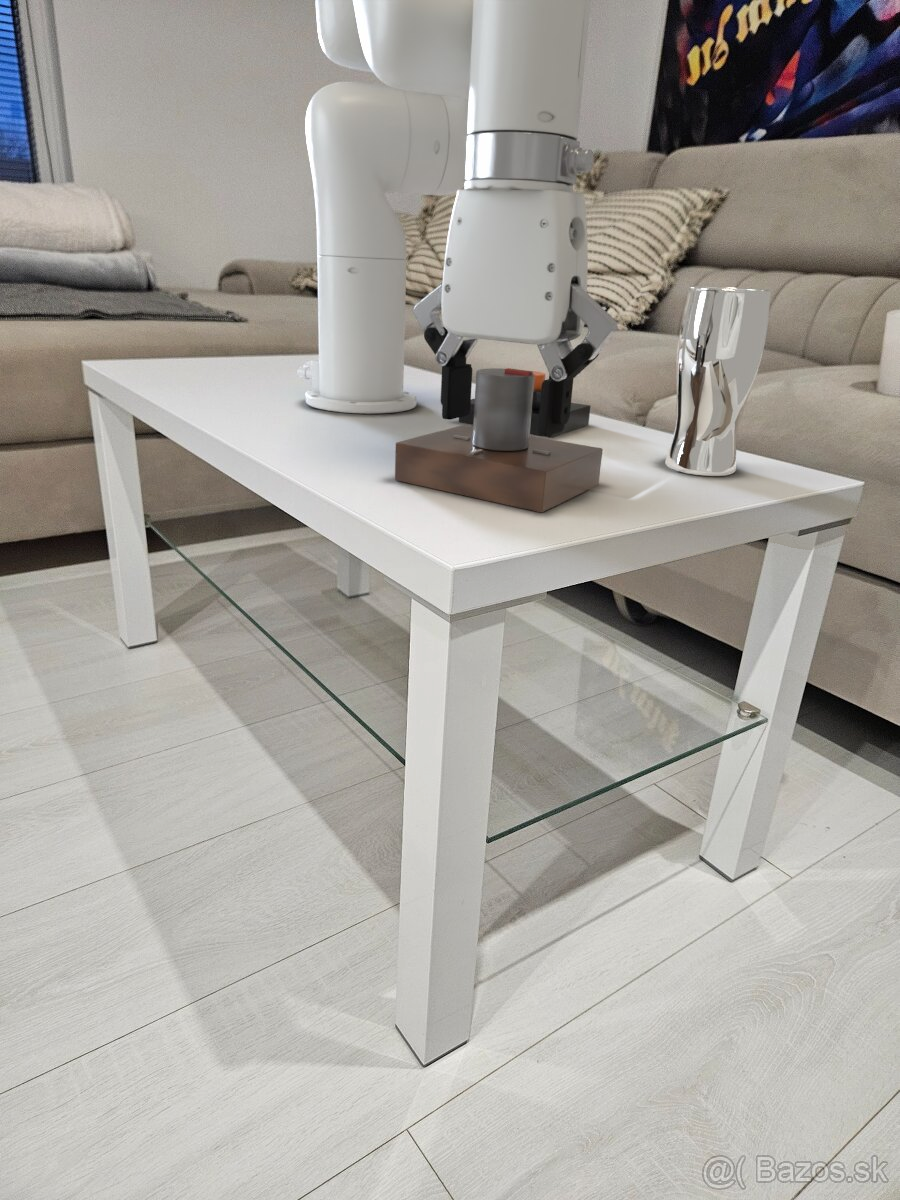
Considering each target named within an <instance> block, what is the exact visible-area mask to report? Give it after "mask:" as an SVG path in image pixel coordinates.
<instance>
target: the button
mask: <svg viewBox="0 0 900 1200" xmlns="http://www.w3.org/2000/svg"><path fill="white" fill-rule="evenodd" d="M532 371H533V373H534V374H535V377H534V389H533V390H540V389H541V387H542V383H543V381H544V380H546V373H545V372H542V371H536V370H532Z"/></svg>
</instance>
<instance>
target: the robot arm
mask: <svg viewBox="0 0 900 1200" xmlns="http://www.w3.org/2000/svg"><path fill="white" fill-rule="evenodd" d="M590 10H591V0H315V14H316V16H315V17H316V26H317V35H318V40H319V44H320V46H321V49H322V51H323V53H324V54H325V56H326V57H327V59H329V60H330V61H331V62H333V63H334V64H336V65H338V66H339V67H344V68H347V69H352V70H357V71H361V72H369V73H373V74H374V75H375V77H376V78H377V79H379V81H380V82H382V83H383V84H380V83H373V82H371V83H370V82H362V81H350V80H349V81H338V82H332V83H330V84H329V83H328V84H327V85H325V86H323V87H321V88H320V89H318V90H317V91H316V92H315V93H314V94H313V96H312V97H311V99H310V101H309V103H308V106H307V109H306V114H305V138H306V147H307V153H308V158H309V159H308V160H309V164H310V172H311V177H312V185H313V193H314V204H315V205H314V206H315V224H316V260H317V263H316V265H317V266H316V267H317V270H316V271H317V321H318V323H317V325H318V326H317V327H318V359H314V360H306V361H304V362H303V365H299V366H298V367H297V369H296V376H297V377H298V378H299V379H305V380H311V384H312V385H311V389H309V390H308V391H306V392H305V403H306V405H308V406H310V407H312V408H315V409H319V410H323V411H329V412H335V413H346V414H365V415H367V414H370V415H371V414H375V415H376V414H393V413H402V412H405V411H410V410H413V409H414V408H416V406H417V403H418V402H417V395H415V394H414V393H413V392H410V391H407V390H404V381H405V379H404V378H405V377H404V376H405V339H406V338H405V337H406V335H405V334H406V329H405V328H406V292H407V291H406V290H407V239H406V234H405V230H404V227H403V225H402V223H401V220H400V219H399V217H398V215H397V213H396V211H395V210H394V208H393V207H392V205H391V204H390V202H389V200H388V198H387V197H386V194H394V193H396V194H397V193H400V194H409V195H410V194H411V195H425V196H449V195H453V194H456V195H455V200H454V203H453V208H452V212H451V216H450V222H449V227H448V233H447V238H446V246H445V254H444V263H443V273H442V274H443V275H442V282H441V283H440V284H439V285H437V286H436V287H435V288H434V289H433V290H432V291H429V293H427V294H426V295H425V296H424V297H423V298H421V299H420V300H419V301H418V302H417V303H415V304H414V305H413V308H412V312H413V315H414V317H415V319H416V322H417V323H418V326H419V327H420V330H421V332H423V337H424V338H423V339H424V341H425V342H426V344H427V345H428V346H429V347H430V349H431V351H432V352H433V354H434V355H435V356H434V359H435V362H436V364H437V365H438V366H439V367H441V379H440V380H441V381H440V382H441V383H440V404H441V418H442V419H443V420H449V421H450V420H454V419H459V417H463V416H467V415H468V414H469V413H470V405H471V399H472V385H473V367H472V364H471V363H467V359H468V357H469V356H470V354H471V353H472V351H473V350H474V348H475V346H476V345H477V343H478V341H479V340H488V341H495V342H496V341H497V342H506V343H517V344H526V345H536V346H537V349H538V350H539V353H540V355H541V357H542V359H543V362H544V364H545V367H546V369H547V372H548V379H545V380H544V381H543V383H542V387H541V398H540V410H539V421H538V433H540V435H542V436H541V437H543V436H550V435H553V434H556V433H559V432H562V431H563V430H564V426H565V424H566V423H567V422H568V420H569V417H570V408H571V403H572V397H573V386H574V379H576V378H579V376H580V375H581V372H582V371H583V370H585V369H586V368H587V367H588V366H589V365H590V364H591V363H592V362H593V361H595V360H596V359H597V358H598V357H599V355H600V352H601V351H602V350H604V348H605V347H606V345H608V343H609V342H610V340H611V339H612V338H613V337H614V336H615V335H616V333H617V332H618V330H619V325H618V322H617V321H616V320H615V319H614V318H613V317H612V316H611V315H610V314H609V313H608V312H607V311H606V310H605V309H604V308H603V306H601V305H600V304H599V303H598V302H597V301H596V300H595V299H594V298H593V297H592V296H591V295H590V294H588V272H589V271H588V270H589V269H588V265H589V264H588V263H589V262H588V261H589V260H588V259H589V258H588V257H589V255H588V253H589V251H588V249H589V247H588V225H587V223H588V222H587V210H586V201H585V200H586V199H585V194H583V193H578V192H574V185H576V184H577V177H578V175H581V173H590V172H592V170H593V167H594V160H595V158H594V157H595V156H594V152H593V150H592V149H583V148H582V147H581V146H580V145H581V142H580V141H579V140H578V137H579V126H580V118H581V117H580V116H581V106H582V105H581V104H582V96H583V95H582V94H583V84H584V72H585V63H586V62H585V61H586V51H587V42H588V41H587V40H588V30H589V22H590V21H589V20H590ZM463 188H464V189H463ZM440 314H441V318H440ZM585 325H586V326H587V333H586V335H585V336H584V339H583V340H582V341H581V342H580V343H579V344H578V345H576V346H575V347H573V345H572V342H571V341H573V340H575V339H578V338H579V337H581V335H582V334H583V332H584V327H585Z"/></svg>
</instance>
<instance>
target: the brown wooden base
mask: <svg viewBox="0 0 900 1200" xmlns="http://www.w3.org/2000/svg"><path fill="white" fill-rule="evenodd" d="M472 441H473V425H470V424H462V425H458V426H454V427H450V428H447V429H443V430H439V431H438V430H437V431H434V432H432V433H431V432H430V433H427V434H424V435H419V436H416V437H412V438H408V439H405V440H402V441H401V440H400V441H396V442H395V451H394V452H395V453H394V454H395V456H394V458H395V459H394V480H395V481H397V482H401V483H402V482H403V483H406V484H411V485H415V486H420V487H424V488H428V489H432V490H433V489H434V490H438V491H442V492H447V493H450V494H451V493H452V494H455V495H461V496H465V497H468V498H474V499H478V500H484V501H488V502H492V503H496V504H500V505H505V506H510V507H514V508H519V509H524V510H528V511H532V512H538V513H541V514H542V513H544V512H546V511H549V510H550V509H552V508H554V507H556V506H558V505H560V504H562V503H565V502H566V501H569V500H570V499H573V498H575V497H577V496H579V495H581V494H584V493H585V492H587V491H589V490H590V489H593V488H595V487H596V486H599V483H600V476H601V466H602V458H603V450H604V449H603V448H601V447H595V446H590V445H585V444H580V443H579V444H578V443H574V442H573V443H572V442H568V441H567V442H566V441H561V440H557V439H556V440H555V439H551V438H546V437H540V436H538V437H537V436H534V435H530V436H529V447H528V448H526V449H523V450H518V451H496V450H488V449H483V448H480V447H477V446H475V445H473V443H472Z"/></svg>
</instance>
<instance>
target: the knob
mask: <svg viewBox="0 0 900 1200" xmlns="http://www.w3.org/2000/svg"><path fill="white" fill-rule="evenodd" d="M533 371H534V370H527V369H526V370H525V369H518V368H509V367H506V368H497V367H496V368H481V369H478V370H476V372H475V389H474V391H475V392H474V399H475V405H474V423H473V424H472V426H473V441H472V443H473V445H475V446H477V447H480V448H483V449H488V450H496V451H518V450H523V449H526V448H528V447H529V436H531V434H530V425H531V413H532V401H533V389H534V377H535V374H534V373H533Z"/></svg>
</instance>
